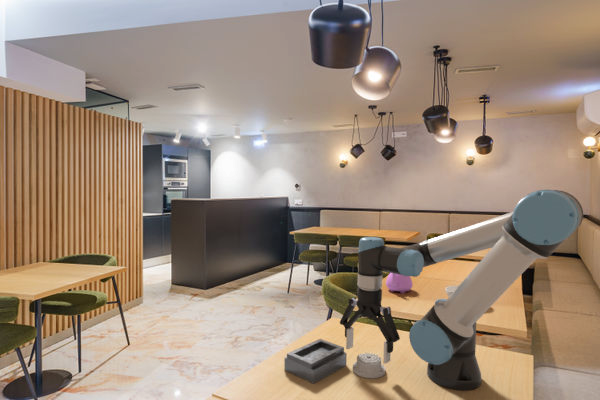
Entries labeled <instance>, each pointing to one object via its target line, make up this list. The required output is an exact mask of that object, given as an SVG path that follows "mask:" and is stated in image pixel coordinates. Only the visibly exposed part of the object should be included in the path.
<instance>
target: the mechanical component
mask: <svg viewBox="0 0 600 400" xmlns="http://www.w3.org/2000/svg"><path fill="white" fill-rule="evenodd" d="M352 371H353V373H354V374H355V375H357V376H358V377H361V378H365V379H377V378H381V377H383V376H384V375H385V374H386V367H385V365H384V363H382V358H381V356H379V355H378V354H375V353H372V352H371V353H367V352H364V353H359V354H358V355H356V361H355V362H354V363H353V364H352Z"/></svg>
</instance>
